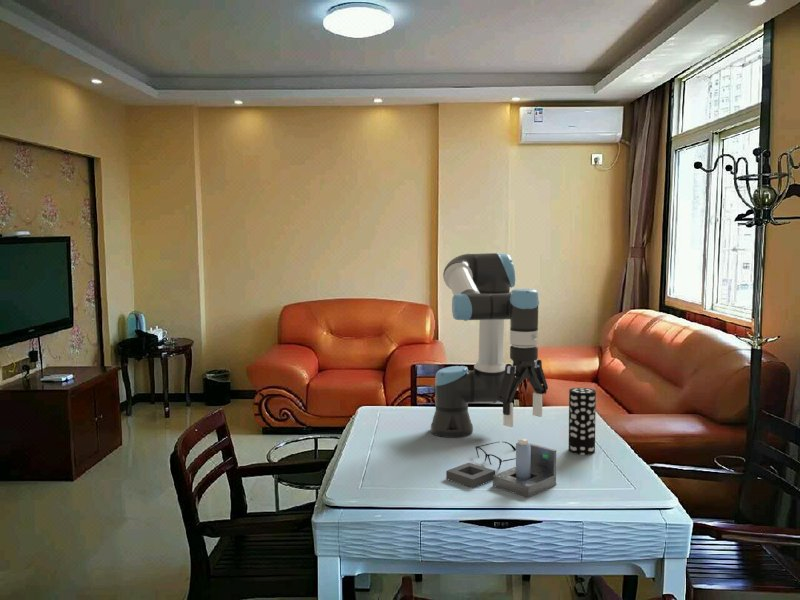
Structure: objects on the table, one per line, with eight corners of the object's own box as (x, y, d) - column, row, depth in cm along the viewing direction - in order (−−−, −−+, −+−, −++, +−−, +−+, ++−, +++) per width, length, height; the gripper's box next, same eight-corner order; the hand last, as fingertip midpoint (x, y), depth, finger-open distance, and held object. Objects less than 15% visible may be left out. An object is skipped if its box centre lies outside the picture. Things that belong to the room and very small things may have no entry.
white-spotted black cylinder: (596, 455, 211) (596, 393, 210) (569, 454, 213) (569, 392, 211) (593, 447, 219) (594, 388, 218) (567, 446, 221) (568, 387, 219)
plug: (513, 486, 186) (513, 440, 185) (521, 482, 188) (521, 437, 187) (524, 489, 183) (524, 443, 182) (533, 486, 186) (533, 439, 184)
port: (492, 486, 186) (492, 451, 185) (520, 474, 195) (521, 441, 194) (528, 497, 177) (528, 461, 176) (556, 484, 186) (556, 450, 185)
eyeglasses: (472, 456, 213) (472, 444, 212) (513, 450, 219) (514, 438, 219) (500, 472, 198) (500, 459, 198) (544, 464, 204) (544, 452, 204)
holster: (446, 479, 192) (446, 470, 192) (468, 470, 199) (468, 462, 198) (473, 488, 185) (473, 479, 184) (495, 478, 191) (495, 470, 191)
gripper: (507, 353, 171) (506, 433, 173) (560, 341, 188) (559, 414, 190) (484, 349, 176) (484, 427, 179) (538, 338, 194) (537, 409, 196)
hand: (523, 420), depth 184 cm, fingers open, 13 cm apart
